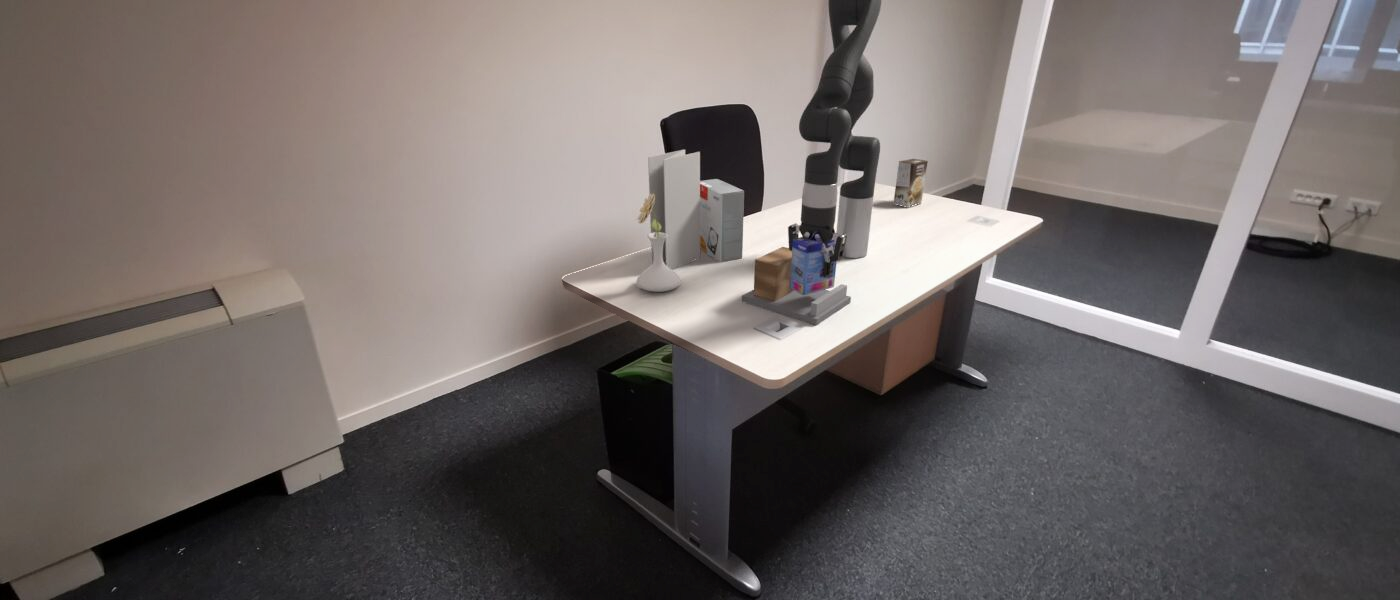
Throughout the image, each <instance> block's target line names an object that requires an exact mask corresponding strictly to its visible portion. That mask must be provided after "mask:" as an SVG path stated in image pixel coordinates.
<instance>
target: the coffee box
mask: <svg viewBox="0 0 1400 600" xmlns="http://www.w3.org/2000/svg"><path fill="white" fill-rule="evenodd" d="M928 162H929V161H928V160H924V159H917V158H910V159H904V160H903V159H902V160H900V161H898V166H897V175H896V182H895V190H894V196H893V202H892V203H893V204H898V205H902V206H906V207H909V206H912V205H915V204H918V203H921V204H922V200H923V194H924V187H925V183H926V182H925V181H926V174H927V169H928V168H927V167H928ZM893 204H892V205H893ZM909 208H910V207H909Z"/></svg>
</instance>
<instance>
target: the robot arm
mask: <svg viewBox="0 0 1400 600" xmlns="http://www.w3.org/2000/svg"><path fill="white" fill-rule="evenodd" d="M827 5H828V16H829V25H830V32H831V39H832V45H833V46H832V48H833V51H832V52H831V54H830V55H829V56H828V58H827V59H826V61H825V63H824V65H823V68H822V71H821V74H820V78H819V82H818V86H817V89H816V90H815V92H814V94H813V96H812V98H811V99H810V101H809V102H808V103H807V105H806V107H805V109H804V110H803V112H802V114H801V117H800V119H799V125H798V129H799V134H800V137H801V138H802V139H803V140H805V141H806V142H812V143H825V144H830V146H829V148H828V150H826V151H821V152H820V151H819V152H814V153H811V154H809V155H807V156H806V159H805V168H804V169H805V170H804V183H803V188H802V195H801V199H802V200H801V210H800V211H801V212H800V213H801V214H800V222H801V223H800V224H798V223H793V224H791V225H790V224H789V226H787V232H788V233H787V234H788V237H787V238H788V248H789V250H790V251H792V247H793V239H796V238H800V237H799V234H801V237H803V238H806V239H809V238H811V237H812V236H813V234H814V232H815V231H819V233H817V234H816V235H815V238H814V239H815V240H816V241H818V242H821V253H822V254H823V255H824V258H825V261H826V262H825V263H824V275H823V276H824V277H826V278H827V277H829V276H830V275H831V274H832V273H833V267H834V261H835V262H836V261H837V262H838V261H840V260H842V259H843V258H847V259H849V258H850V259H858V258H864V257H866V256H867V254H868V249H869V248H868V247H869V239H870V230H871V221H872V212H873V203H874V194H875V186H876V178H877V172H878V170H877V169H878V166H879V162H880V161H879V159H880V153H881V143H880V140H879V138H878V137H875V136H860V135H853V133H852V130H853V128H854V126H855V125H856V123H857V122H858V121H859V119H860V118H861V116H863V114H864V113H865V111H867V109H868V108H869V106H870V104H871V102H872V101H873V98H874V94H875V93H874V91H875V89H874V87H875V86H874V70H873V68H872V66H871V64H870V62H869V61H868V58H866V56H865V55H864V52H865V50H866V48H867V45H868V43H869V41H870V38H871V36H872V33H873V31H874V29H875V26H876V23H877V21H878V19H879V16H880V12H881V7H882V0H828V3H827ZM850 26H855V27H854V29H853V30H852V31H851V30H850ZM839 167H840V169H842V170H845V171H856V172H863V174H862V176H861V177H859V178H856V179H854V180H853V179H852V180H849V181H845V182H843V183H842V184H840V186H839V187H840V188H839V198H838V178H839V177H838V176H839ZM838 199H839V200H838ZM837 202H838V203H837ZM837 205H838V209H837ZM837 210H838V212H837ZM836 214H837V220H836ZM836 221H837V222H836ZM835 223H836V230H835V227H834V226H835ZM832 238H834V243H835V249H834V252H833V246H832V245H831V246H830V247H828V248H826V247H825V245H826V244H827V243H829V242H830V241H831V239H832Z"/></svg>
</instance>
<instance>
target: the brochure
mask: <svg viewBox="0 0 1400 600" xmlns="http://www.w3.org/2000/svg"><path fill="white" fill-rule="evenodd" d="M647 159H648V160H647V161H648V167H647V168H648V191H649V195H650V193H651V195H653V193H654V195H655V201H654V202H655V203H654V205H653V208H652V212H653V213H654V215H655V217H656V219H657V221H658V223H659V224H660V225H661V227H662V228H661V230H660V231H659V232H661V233H666V234H667V235H668V236H667V238H666V239H665V241H664V244H663V262H665V265H666V266H667V267H669V268H670V269H672V270H674V269H677V268H679V266H680V267H682V266H684V265H687V264H689V263H692V262H694V261H696V260H698V258H699V259H700V258H701V249H700V181H701V151H696V152H693V153H692V152H691V153H688V154H686V149H680V150H674V151H671V152H666V153H662V154H658V155H653V156H648V157H647ZM649 195H648V196H649ZM654 219H655V218H654V216H653V215H652V213H650V214H649V221H650V233H655V232H656V230H655V229H654V228H653V227H652V226H651V224H652V222H653V220H654ZM650 248H651V249H650V251H651V252H650V253H651V265H652V264H653V260H654V254H653V247H652V243H651V242H650ZM695 259H696V260H695ZM693 260H694V261H693ZM686 263H687V264H686Z"/></svg>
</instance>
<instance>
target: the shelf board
mask: <svg viewBox="0 0 1400 600" xmlns="http://www.w3.org/2000/svg"><path fill="white" fill-rule="evenodd" d="M847 291H848V285H846V284H840V285H837V286H836V287H833V289H831V290H828V289H825V290H821V291H817V292H814V293H810V294H806V295H802V294H800V293H798V292H797V291H795V290H794V291H792V292H790V293H788V294H787V295H785V296H783V297H781V298H779V299H778V300H776V301H772V300H769V299H766V298H762V297H759V296H756V295H754V289H752V290H750V291H748V292H746V293H744V294H742V295H741V302H742V303H746V304H749V305H752V306H755V307H758V308H762V309H764V310H767V311H771V312H773V313H777V314H780V315H783V316H786V317H790V318H792V319H796V320H799V321H801V322H805V323H807V324H811V325H813V326H817V325H819V324H820V323H822V322H824V321H825V320H827V319H828V318H829V317H831V316H833V315H834V314H836V313H837V312H838V311H840V310H842V309H843V308H845V307H846V306H848V305H850V304H851V298H852V296H849V295H847Z"/></svg>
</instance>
